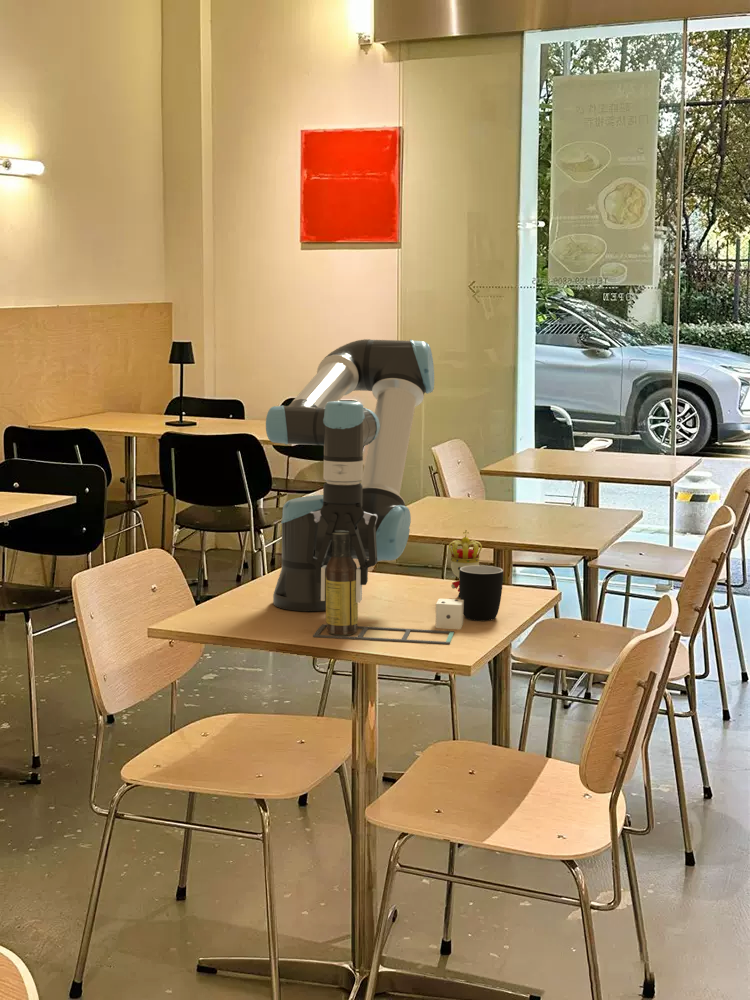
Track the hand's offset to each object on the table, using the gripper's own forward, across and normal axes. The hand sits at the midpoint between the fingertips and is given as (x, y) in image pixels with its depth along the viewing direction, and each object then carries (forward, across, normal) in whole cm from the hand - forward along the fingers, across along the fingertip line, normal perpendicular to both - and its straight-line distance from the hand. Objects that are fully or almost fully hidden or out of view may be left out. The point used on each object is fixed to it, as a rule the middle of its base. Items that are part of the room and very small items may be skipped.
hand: (341, 600), depth 245 cm
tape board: (+6, +8, 0) cm, 11 cm away
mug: (+7, +25, +20) cm, 33 cm away
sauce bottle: (+7, 0, 0) cm, 7 cm away
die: (+7, +20, +10) cm, 24 cm away
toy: (+7, +21, +38) cm, 44 cm away
